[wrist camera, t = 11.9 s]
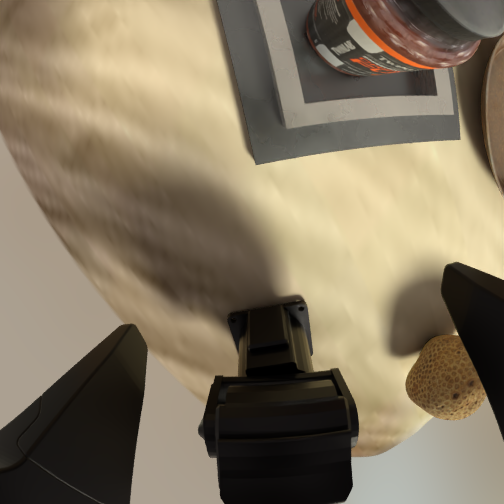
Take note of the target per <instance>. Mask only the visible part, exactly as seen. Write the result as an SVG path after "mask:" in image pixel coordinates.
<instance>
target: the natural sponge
mask: <svg viewBox="0 0 504 504" xmlns="http://www.w3.org/2000/svg"><path fill="white" fill-rule="evenodd" d="M405 385H406V391H407V394H408V396H409V398H410V399H411V400H412V401H413V402H414V403H415V404H416V405H418V406H419V407H421V408H422V409H423V410H425V411H426V412H427V413H429V414H431V415H432V416H434V417H436V418H440V419H445V420H460V419H463V418H466V417H468V416H469V415H471V414H473V413H474V412H475V411H476V410H477V409H478V408H479V407H480V406H481V404H482V403H483V401H484V399H485V397H486V392H485V390H484V388H483V385H482V383H481V381H480V379H479V376H478V374H477V372H476V370H475V368H474V366H473V364H472V361H471V359H470V357H469V355H468V353H467V351H466V349H465V347H464V345H463V343H462V341H461V339H460V337H459V336H457V335H441V336H436V337H434V338H432V339H430V340H429V341H428V342H427V343H426V344H425V346H424V347H423V349H422V351H421V353H420V355H419V358H418V359H417V361H416V363H415V364H414V365H413V367H412V368H411V370H410V372H409V374H408V376H407V379H406V384H405Z"/></svg>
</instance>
